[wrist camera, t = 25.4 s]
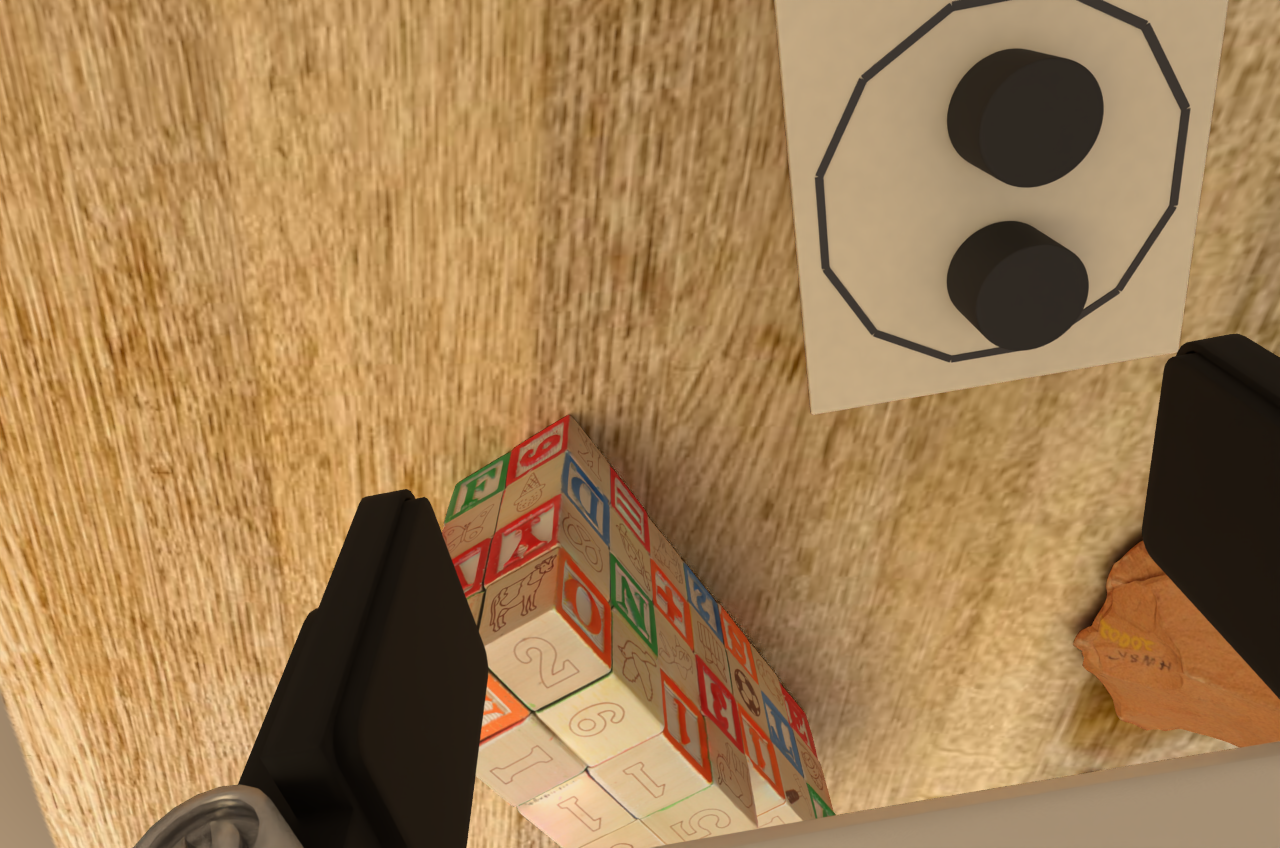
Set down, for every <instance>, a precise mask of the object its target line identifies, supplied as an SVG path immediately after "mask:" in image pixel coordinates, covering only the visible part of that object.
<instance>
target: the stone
mask: <svg viewBox="0 0 1280 848" xmlns="http://www.w3.org/2000/svg"><path fill="white" fill-rule="evenodd" d="M1106 589H1107V598H1106V601H1105V603H1104V605H1103V607H1102V608H1101V610H1100V612H1099V613H1098V615H1097V616H1096V618H1095V620H1094V622H1093V624H1092V626H1090V627H1088V628H1085V629H1083V630H1081V631H1080V632H1079V633H1078V634H1077V636H1076V638H1075V640H1074V643H1073V645H1074V646H1075V647H1077V648H1079V649H1080V650H1081V651H1082V654H1083V656H1084V662H1083V664H1082V665H1083V666H1084V668H1085V669H1086V670H1087V671H1089V672H1091V673H1092V674H1094V675H1095V676H1096V677H1097V678H1098V679H1099V680H1100V681H1101V682H1102V683H1103V684H1104V686H1105V688H1106V689H1107V691H1108V692H1109V694H1110V695H1111V697H1112V698H1113V701H1114V705H1115V710H1116V714H1117V716H1118V717H1119V718H1120V719H1121V720H1122V721H1125V722H1128V723H1132V724H1135V725H1137V726H1138V727H1140V728H1143V729H1145V730H1152V729H1161V730H1163V731H1168V730H1174V729H1184V730H1187V731H1191V732H1195V733H1199V734H1202V735H1206V736H1210V737H1214V738H1217V739H1220V740H1223V741H1226V742H1229V743H1231V744H1233V745H1236V746H1238V747H1240V748H1241V747H1247V746H1253V745H1259V744H1265V743H1272V742H1278V741H1280V699H1279V698H1278V697H1277V696H1276V695H1275V694H1274V693H1273V691H1272V690H1271V689H1270V688H1269V687H1268V686H1267V685H1266V684H1265V683H1264V682H1263V681H1262V679H1261V678H1260V677H1259V676H1258V675H1257V674H1256V673H1255V672H1254V671H1253V670H1252V668H1251V667H1250V666H1249V665H1248V664H1247V663H1246V662H1245V661H1244V660H1243V659H1242V657H1241V656H1240V655H1239V654H1238V653H1237V652H1236V651H1235V650H1234V649H1233V648H1232V646H1231V645H1230V644H1229V643H1228V642H1227V641H1226V640H1225V639H1224V638H1223V637H1222V635H1221V634H1220V633H1219V632H1218V631H1217V630H1216V629H1215V628H1214V627H1213V626H1212V624H1211V623H1210V622H1209V621H1208V620H1207V619H1206V618H1205V617H1204V616H1203V615H1202V613H1201V612H1200V611H1199V610H1198V609H1197V608H1196V607H1195V606H1194V605H1193V604H1192V602H1191V601H1190V600H1189V599H1188V598H1187V597H1186V596H1185V595H1184V594H1183V593H1182V591H1181V590H1180V589H1179V588H1178V587H1177V586H1176V585H1175V584H1174V583H1173V582H1172V580H1171V579H1170V578H1169V577H1168V576H1167V575H1166V574H1165V573H1164V572H1163V571H1162V569H1161V568H1160V567H1159V566H1158V565H1157V564H1156V563H1155V562H1154V561H1153V560H1152V558H1151V557H1150V555H1149V554H1148V552H1147V550H1146V548H1145V545H1144V542H1143V541H1141V542H1139V543H1138V544H1137V545H1135V546H1134V547H1133V548H1132V549H1131V550H1130V551H1128V552H1127V553H1126V554H1125V555H1124V556H1123V557H1122V558H1121V559H1120V560H1119V561H1118V562H1116V563H1114V565H1113V567H1112V569H1111V571H1110V573H1109V576H1108V579H1107V583H1106Z"/></svg>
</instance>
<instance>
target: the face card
mask: <svg viewBox="0 0 1280 848" xmlns="http://www.w3.org/2000/svg"><path fill="white" fill-rule="evenodd" d="M1228 1H1229V0H774V7H775V18H776V29H777V41H778V52H779V63H780V75H781V86H782V97H783V108H784V120H785V131H786V142H787V154H788V165H789V176H790V187H791V199H792V210H793V221H794V232H795V244H796V255H797V266H798V278H799V289H800V300H801V311H802V323H803V334H804V345H805V357H806V368H807V379H808V390H809V402H810V412H811V414H812V415H815V414H821V413H827V412H833V411H839V410H844V409H850V408H856V407H862V406H868V405H873V404H879V403H885V402H891V401H897V400H903V399H908V398H914V397H920V396H926V395H932V394H937V393H943V392H949V391H955V390H961V389H966V388H972V387H978V386H984V385H990V384H996V383H1001V382H1007V381H1013V380H1019V379H1025V378H1030V377H1036V376H1042V375H1048V374H1054V373H1060V372H1065V371H1071V370H1077V369H1083V368H1089V367H1094V366H1100V365H1106V364H1112V363H1118V362H1123V361H1129V360H1135V359H1141V358H1147V357H1153V356H1158V355H1164V354H1170V353H1176V352H1178V349H1179V342H1180V335H1181V328H1182V321H1183V314H1184V307H1185V300H1186V293H1187V287H1188V280H1189V273H1190V266H1191V259H1192V252H1193V245H1194V238H1195V231H1196V224H1197V217H1198V210H1199V203H1200V196H1201V189H1202V182H1203V175H1204V168H1205V161H1206V154H1207V147H1208V140H1209V133H1210V126H1211V119H1212V112H1213V105H1214V98H1215V91H1216V84H1217V77H1218V70H1219V63H1220V56H1221V49H1222V42H1223V36H1224V29H1225V22H1226V15H1227V8H1228ZM1013 48H1022V49H1027V50H1032V51H1036V52H1041V53H1045V54H1049V55H1054V56H1058V57H1062V58H1067V59H1070V60H1073V61H1076V62H1078V63H1080V64H1081V65H1083V66H1084V67H1086V68H1087V69H1088V70H1089V71H1090V72H1091V73H1092V74H1093V75H1094V77H1095V78H1096V80H1097V82H1098V84H1099V86H1100V88H1101V92H1102V96H1103V102H1104V115H1103V122H1102V126H1101V129H1100V132H1099V135H1098V137H1097V139H1096V141H1095V143H1094V145H1093V147H1092V149H1091V150H1090V152H1089V153H1088V154H1087V156H1086V157H1085V158H1084V159H1083V161H1082V162H1081V163H1080V164H1079V165H1078V166H1077V167H1076V168H1074V169H1073V170H1072V171H1071V172H1069V173H1068V174H1066V175H1065V176H1063V177H1062V178H1060V179H1058V180H1056V181H1054V182H1051V183H1049V184H1046V185H1042V186H1038V187H1031V188H1021V187H1015V186H1011V185H1008V184H1006V183H1004V182H1002V181H1000V180H998V179H996V178H994V177H993V176H991V175H989V174H987V173H986V172H984V171H982V170H981V169H979V168H977V167H975V166H974V165H972V164H970V163H968V162H967V161H966V160H964V159H963V158H962V157H961V156H960V155H959V154H958V153H957V152H956V150H955V149H954V147H953V145H952V143H951V141H950V138H949V134H948V129H947V113H948V108H949V104H950V100H951V97H952V95H953V93H954V90H955V89H956V87H957V85H958V83H959V82H960V80H961V79H962V78H963V76H964V75H965V74H966V73H967V72H968V71H969V70H970V69H971V68H972V67H973V66H974V65H975V64H976V63H978V62H979V61H980V60H982V59H983V58H985V57H987V56H989V55H991V54H993V53H995V52H998V51H1001V50H1005V49H1013ZM1003 221H1018V222H1023V223H1026V224H1029V225H1031V226H1033V227H1034V228H1036V229H1037V230H1039V231H1041V232H1042V233H1044V234H1045V235H1047V236H1048V237H1050V238H1052V239H1053V240H1055V241H1056V242H1058V243H1059V244H1061V245H1063V246H1064V247H1066V248H1067V249H1069V250H1070V251H1072V252H1073V253H1075V254H1076V255H1077V256H1078V257H1079V258H1080V260H1081V261H1082V262H1083V264H1084V266H1085V268H1086V271H1087V274H1088V280H1089V291H1088V297H1087V301H1086V304H1085V306H1084V309H1083V311H1082V312H1081V314H1080V316H1079V318H1078V319H1077V320H1076V322H1075V323H1074V324H1073V325H1072V326H1071V328H1070V329H1069V330H1067V331H1066V332H1065V333H1064V334H1063V335H1062V336H1060V337H1059V338H1058V339H1056V340H1054V341H1053V342H1051V343H1049V344H1047V345H1045V346H1042V347H1039V348H1036V349H1032V350H1025V351H1013V350H1007V349H1003V348H1000V347H998V346H996V345H994V344H993V343H991V342H990V341H989V340H987V339H986V338H985V337H984V336H983V335H982V334H981V333H980V332H979V331H978V330H977V329H976V328H975V327H974V326H973V325H972V324H971V323H970V322H969V321H968V320H967V319H966V318H965V317H964V316H963V315H962V314H961V313H960V312H959V311H958V310H957V308H956V307H955V306H954V305H953V303H952V301H951V300H950V297H949V294H948V290H947V273H948V268H949V265H950V262H951V260H952V258H953V256H954V254H955V253H956V251H957V250H958V248H959V247H960V246H961V244H962V243H963V242H964V241H965V240H966V239H967V238H968V237H970V236H971V235H972V234H973V233H975V232H976V231H978V230H980V229H982V228H984V227H986V226H988V225H991V224H993V223H998V222H1003Z"/></svg>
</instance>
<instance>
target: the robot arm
mask: <svg viewBox="0 0 1280 848" xmlns="http://www.w3.org/2000/svg"><path fill="white" fill-rule="evenodd" d="M1142 537H1143V542H1144V545H1145V548H1146V550H1147V552H1148V554H1149V555H1150V557H1151V558H1152V560H1153V561H1154V562H1155V563H1156V564H1157V565H1158V566H1159V567H1160V568H1161V569H1162V571H1163V572H1164V573H1165V574H1166V575H1167V576H1168V577H1169V578H1170V579H1171V580H1172V582H1173V583H1174V584H1175V585H1176V586H1177V587H1178V588H1179V589H1180V590H1181V591H1182V593H1183V594H1184V595H1185V596H1186V597H1187V598H1188V599H1189V600H1190V601H1191V602H1192V604H1193V605H1194V606H1195V607H1196V608H1197V609H1198V610H1199V611H1200V612H1201V613H1202V615H1203V616H1204V617H1205V618H1206V619H1207V620H1208V621H1209V622H1210V623H1211V624H1212V626H1213V627H1214V628H1215V629H1216V630H1217V631H1218V632H1219V633H1220V634H1221V635H1222V637H1223V638H1224V639H1225V640H1226V641H1227V642H1228V643H1229V644H1230V645H1231V646H1232V648H1233V649H1234V650H1235V651H1236V652H1237V653H1238V654H1239V655H1240V656H1241V657H1242V659H1243V660H1244V661H1245V662H1246V663H1247V664H1248V665H1249V666H1250V667H1251V668H1252V670H1253V671H1254V672H1255V673H1256V674H1257V675H1258V676H1259V677H1260V678H1261V679H1262V681H1263V682H1264V683H1265V684H1266V685H1267V686H1268V687H1269V688H1270V689H1271V690H1272V691H1273V693H1274V694H1275V695H1276V696H1277V697H1278V698H1279V699H1280V357H1278V356H1276V355H1275V354H1273V353H1271V352H1270V351H1268V350H1266V349H1265V348H1263V347H1262V346H1260V345H1258V344H1257V343H1255V342H1253V341H1252V340H1250V339H1248V338H1247V337H1245V336H1242V335H1240V334H1229V335H1224V336H1219V337H1213V338H1208V339H1203V340H1197V341H1192V342H1187V343H1185V344H1184V345H1182V346H1181V347H1180V349H1179V350H1178V352H1177V355H1176V356H1175V357H1172V358H1170V359H1169V360H1168V361H1167V363H1166V364H1165V368H1164V373H1163V380H1162V387H1161V395H1160V402H1159V409H1158V416H1157V424H1156V431H1155V438H1154V445H1153V453H1152V460H1151V467H1150V474H1149V482H1148V489H1147V496H1146V503H1145V511H1144V518H1143V525H1142ZM487 682H488V660H487V654H486V650H485V647H484V644H483V641H482V639H481V636H480V633H479V631H478V628H477V625H476V623H475V620H474V617H473V615H472V612H471V609H470V607H469V604H468V601H467V599H466V596H465V594H464V591H463V588H462V586H461V583H460V580H459V578H458V575H457V572H456V570H455V567H454V564H453V562H452V559H451V556H450V554H449V551H448V548H447V546H446V543H445V540H444V538H443V535H442V532H441V530H440V527H439V524H438V522H437V519H436V516H435V514H434V511H433V508H432V506H431V504H430V502H429V500H428V499H427V498H425V497H423V498H417V499H415V497H414V495H413V494H412V493H411V491H409V490H407V489H405V490H399V491H394V492H389V493H383V494H378V495H373V496H367V497H364V498H362V500H361V502H360V503H359V506H358V509H357V511H356V514H355V516H354V519H353V521H352V524H351V526H350V529H349V531H348V534H347V537H346V539H345V542H344V544H343V547H342V549H341V552H340V554H339V557H338V559H337V562H336V565H335V567H334V570H333V572H332V575H331V577H330V580H329V582H328V585H327V587H326V590H325V593H324V595H323V598H322V600H321V603H320V605H319V608H317V609H315V610H313V611H312V612H310V613H309V614H308V616H307V618H306V620H305V621H304V623H303V626H302V628H301V630H300V633H299V635H298V638H297V640H296V643H295V645H294V648H293V650H292V653H291V655H290V658H289V660H288V663H287V665H286V667H285V670H284V672H283V675H282V677H281V680H280V682H279V685H278V687H277V690H276V692H275V695H274V697H273V699H272V702H271V704H270V707H269V709H268V712H267V714H266V717H265V719H264V722H263V724H262V727H261V729H260V732H259V734H258V736H257V739H256V741H255V744H254V746H253V749H252V751H251V754H250V756H249V759H248V761H247V764H246V766H245V769H244V771H243V773H242V776H241V778H240V781H239V783H238V785H232V786H222V787H218V788H215V789H212V790H209V791H207V792H204V793H201V794H198V795H196V796H194V797H192V798H191V799H189V800H187V801H185V802H184V803H182V804H180V805H179V806H177V807H175V808H173V809H172V810H171V811H170V812H169V813H167V814H166V815H165V816H164V817H162V818H161V819H160V820H159V821H158V822H156V823H155V824H154V825H153V826H152V827H151V828H150V829H149V830H148V831H147V832H146V833H145V835H144V836H143V837H142V838H141V839H140V840H139V842H138V843H137V844H136V845H135V846H134V847H133V848H466V846H467V838H468V831H469V823H470V815H471V807H472V799H473V791H474V784H475V776H476V768H477V760H478V752H479V744H480V737H481V729H482V721H483V713H484V705H485V698H486V690H487ZM650 848H1280V741H1278V742H1272V743H1265V744H1259V745H1253V746H1247V747H1241V748H1235V749H1229V750H1222V751H1216V752H1210V753H1204V754H1198V755H1192V756H1186V757H1179V758H1173V759H1167V760H1161V761H1155V762H1149V763H1143V764H1136V765H1130V766H1124V767H1119V768H1113V769H1107V770H1101V771H1095V772H1089V773H1083V774H1077V775H1071V776H1065V777H1059V778H1053V779H1047V780H1041V781H1035V782H1029V783H1023V784H1017V785H1011V786H1005V787H999V788H993V789H987V790H981V791H975V792H969V793H964V794H958V795H952V796H946V797H940V798H934V799H928V800H922V801H916V802H910V803H905V804H899V805H893V806H887V807H881V808H875V809H869V810H863V811H857V812H851V813H846V814H840V815H834V816H828V817H823V818H817V819H811V820H805V821H800V822H794V823H788V824H782V825H777V826H771V827H765V828H759V829H754V830H748V831H742V832H736V833H731V834H725V835H719V836H713V837H708V838H702V839H696V840H690V841H685V842H679V843H673V844H668V845H662V846H656V847H650Z"/></svg>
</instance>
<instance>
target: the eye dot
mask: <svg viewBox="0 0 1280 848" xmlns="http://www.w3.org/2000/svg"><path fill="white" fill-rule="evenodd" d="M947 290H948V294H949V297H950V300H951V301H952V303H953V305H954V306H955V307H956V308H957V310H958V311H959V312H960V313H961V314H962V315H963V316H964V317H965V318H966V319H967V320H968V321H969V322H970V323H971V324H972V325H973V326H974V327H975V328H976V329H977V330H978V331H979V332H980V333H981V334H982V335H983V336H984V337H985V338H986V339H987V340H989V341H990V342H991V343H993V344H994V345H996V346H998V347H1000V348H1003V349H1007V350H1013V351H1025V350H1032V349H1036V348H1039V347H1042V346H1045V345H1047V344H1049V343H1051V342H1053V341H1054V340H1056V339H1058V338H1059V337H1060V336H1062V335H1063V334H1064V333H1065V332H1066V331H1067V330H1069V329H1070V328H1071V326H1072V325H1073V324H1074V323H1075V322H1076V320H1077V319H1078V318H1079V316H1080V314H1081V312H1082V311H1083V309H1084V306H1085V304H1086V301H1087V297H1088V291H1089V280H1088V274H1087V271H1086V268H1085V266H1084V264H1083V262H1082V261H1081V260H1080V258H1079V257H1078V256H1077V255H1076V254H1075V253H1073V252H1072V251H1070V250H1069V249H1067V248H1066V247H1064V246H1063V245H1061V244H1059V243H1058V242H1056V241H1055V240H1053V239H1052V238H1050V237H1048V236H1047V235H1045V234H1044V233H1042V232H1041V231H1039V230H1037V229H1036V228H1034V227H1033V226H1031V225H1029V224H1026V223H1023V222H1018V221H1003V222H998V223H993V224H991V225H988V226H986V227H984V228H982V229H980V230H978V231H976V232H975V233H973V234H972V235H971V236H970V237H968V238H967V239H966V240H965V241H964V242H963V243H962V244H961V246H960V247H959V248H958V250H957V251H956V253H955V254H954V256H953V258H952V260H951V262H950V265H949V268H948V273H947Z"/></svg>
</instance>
